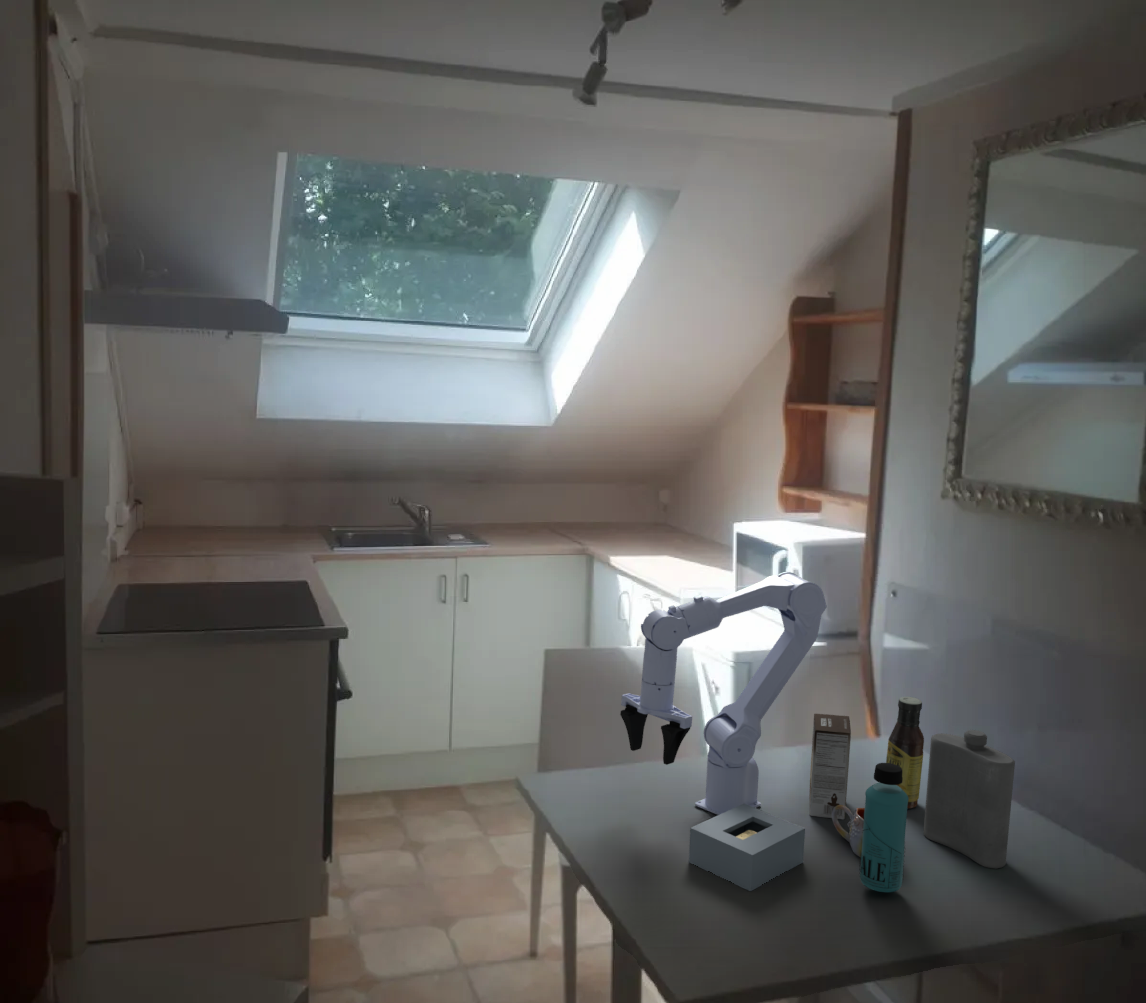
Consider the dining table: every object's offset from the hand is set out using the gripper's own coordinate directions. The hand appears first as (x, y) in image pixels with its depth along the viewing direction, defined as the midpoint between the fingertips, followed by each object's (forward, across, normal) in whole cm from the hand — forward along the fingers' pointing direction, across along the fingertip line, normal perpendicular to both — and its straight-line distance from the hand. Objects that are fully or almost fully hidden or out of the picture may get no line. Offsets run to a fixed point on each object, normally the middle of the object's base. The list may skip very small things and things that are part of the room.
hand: (652, 756), depth 181 cm
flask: (+9, +44, +30) cm, 54 cm away
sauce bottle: (+9, +28, +38) cm, 48 cm away
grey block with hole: (+10, +22, -2) cm, 25 cm away
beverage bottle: (+10, +42, +6) cm, 43 cm away
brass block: (+10, +22, -2) cm, 24 cm away
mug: (+10, +32, +17) cm, 37 cm away
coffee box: (+9, +20, +26) cm, 34 cm away
